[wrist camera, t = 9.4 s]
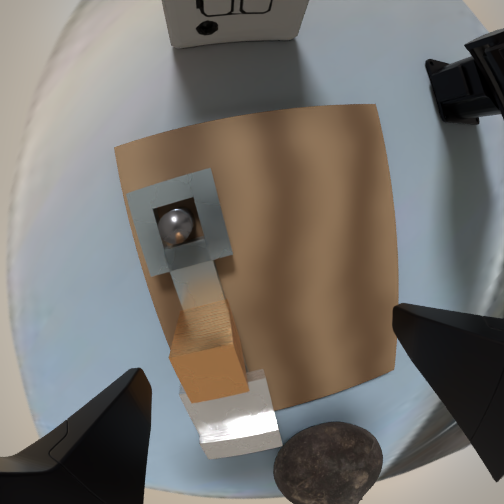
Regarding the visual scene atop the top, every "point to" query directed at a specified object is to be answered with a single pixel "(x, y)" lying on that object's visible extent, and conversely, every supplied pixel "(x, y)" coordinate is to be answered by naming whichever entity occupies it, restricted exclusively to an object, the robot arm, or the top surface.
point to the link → (194, 287)
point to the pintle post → (176, 225)
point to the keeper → (236, 420)
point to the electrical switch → (232, 20)
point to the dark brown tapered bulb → (328, 464)
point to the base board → (290, 239)
